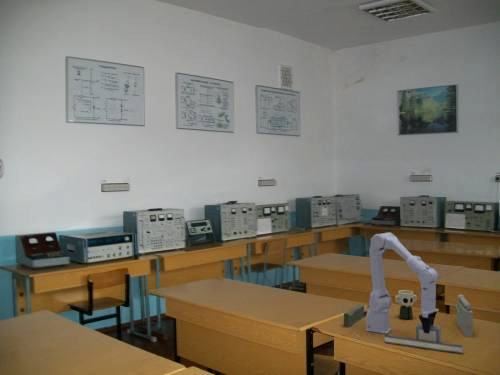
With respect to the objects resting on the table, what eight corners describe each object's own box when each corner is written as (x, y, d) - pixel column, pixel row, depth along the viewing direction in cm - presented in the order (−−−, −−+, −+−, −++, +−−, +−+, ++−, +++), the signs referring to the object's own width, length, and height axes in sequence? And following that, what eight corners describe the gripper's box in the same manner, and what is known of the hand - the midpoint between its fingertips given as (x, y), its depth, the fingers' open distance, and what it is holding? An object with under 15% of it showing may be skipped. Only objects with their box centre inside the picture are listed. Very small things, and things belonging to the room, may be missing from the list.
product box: (438, 346, 213) (438, 329, 212) (416, 343, 217) (416, 326, 217) (440, 343, 217) (440, 326, 216) (418, 340, 221) (418, 323, 221)
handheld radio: (342, 326, 241) (363, 314, 262) (348, 328, 239) (369, 315, 260) (342, 312, 241) (363, 301, 261) (349, 313, 239) (369, 302, 260)
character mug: (398, 320, 249) (398, 293, 249) (392, 316, 256) (392, 290, 256) (420, 319, 250) (419, 292, 250) (413, 315, 258) (413, 289, 257)
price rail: (384, 343, 217) (384, 336, 217) (386, 341, 219) (385, 334, 219) (462, 354, 203) (462, 346, 202) (462, 352, 204) (462, 345, 204)
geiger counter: (475, 305, 223) (464, 291, 248) (460, 304, 224) (450, 291, 249) (475, 337, 224) (463, 320, 248) (459, 336, 225) (449, 320, 249)
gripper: (435, 303, 208) (435, 336, 208) (441, 295, 220) (441, 326, 221) (417, 301, 211) (417, 334, 212) (423, 293, 224) (423, 324, 224)
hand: (428, 330), depth 216 cm, fingers open, 7 cm apart
